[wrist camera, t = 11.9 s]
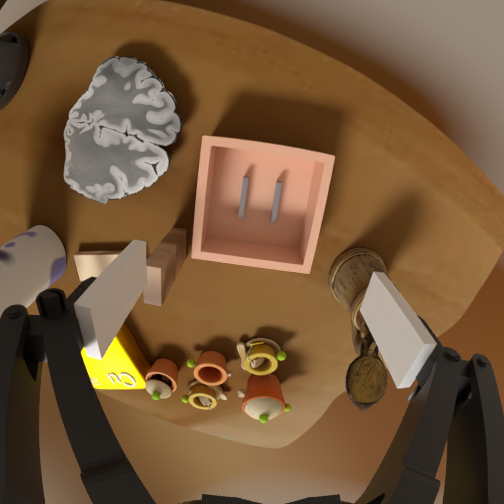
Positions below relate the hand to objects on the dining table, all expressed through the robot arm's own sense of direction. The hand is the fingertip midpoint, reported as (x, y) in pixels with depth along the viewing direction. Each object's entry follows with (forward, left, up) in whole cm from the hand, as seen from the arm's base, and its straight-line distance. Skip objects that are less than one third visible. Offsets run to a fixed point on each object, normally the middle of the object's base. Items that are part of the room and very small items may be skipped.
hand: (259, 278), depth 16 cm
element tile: (+32, -24, -23) cm, 46 cm away
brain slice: (-7, -19, -23) cm, 30 cm away
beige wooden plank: (+13, -21, -23) cm, 33 cm away
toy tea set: (+33, -2, -23) cm, 40 cm away
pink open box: (0, 0, -22) cm, 22 cm away
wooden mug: (+12, +16, -23) cm, 30 cm away
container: (+13, -35, -22) cm, 43 cm away
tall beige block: (+8, -10, -22) cm, 26 cm away
